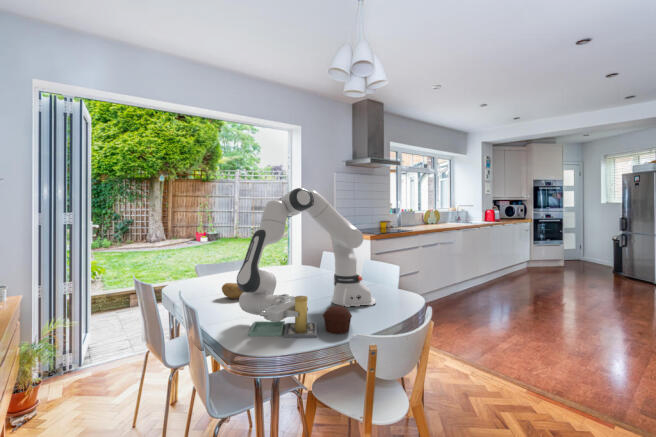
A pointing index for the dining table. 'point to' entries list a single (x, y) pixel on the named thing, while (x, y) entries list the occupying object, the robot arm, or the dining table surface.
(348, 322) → the muffin
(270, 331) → the green tray
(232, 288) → the potato
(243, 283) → the robot arm
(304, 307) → the tan capped cylinder
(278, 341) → the dining table surface
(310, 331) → the gravel tray
